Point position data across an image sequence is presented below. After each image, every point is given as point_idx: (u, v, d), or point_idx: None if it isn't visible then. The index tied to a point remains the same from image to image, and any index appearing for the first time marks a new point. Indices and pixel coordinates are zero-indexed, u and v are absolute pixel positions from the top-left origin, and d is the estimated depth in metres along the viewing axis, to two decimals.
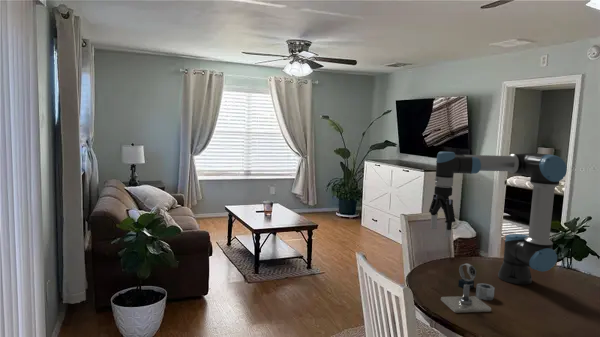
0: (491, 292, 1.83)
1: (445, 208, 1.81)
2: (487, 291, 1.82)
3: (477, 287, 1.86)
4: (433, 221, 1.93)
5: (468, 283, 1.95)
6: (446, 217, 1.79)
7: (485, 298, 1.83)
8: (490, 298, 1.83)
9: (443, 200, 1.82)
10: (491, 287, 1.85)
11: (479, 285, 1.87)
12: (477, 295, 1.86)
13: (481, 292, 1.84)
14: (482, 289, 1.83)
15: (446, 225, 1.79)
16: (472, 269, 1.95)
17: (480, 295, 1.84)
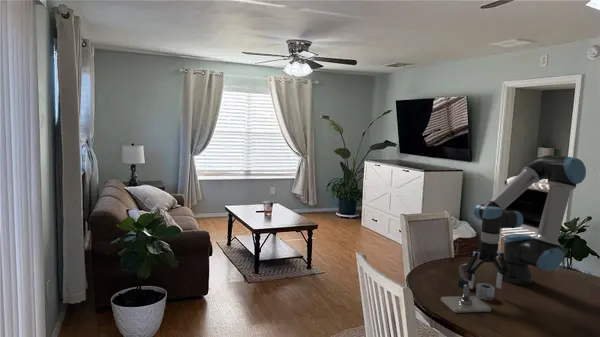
0: (491, 292, 1.83)
1: (477, 261, 1.84)
2: (487, 291, 1.82)
3: (477, 287, 1.86)
4: (497, 278, 1.87)
5: None
6: None
7: (485, 298, 1.83)
8: (490, 298, 1.83)
9: None
10: (491, 287, 1.85)
11: (479, 285, 1.87)
12: (477, 295, 1.86)
13: (481, 292, 1.84)
14: (482, 289, 1.83)
15: None
16: None
17: (480, 295, 1.84)
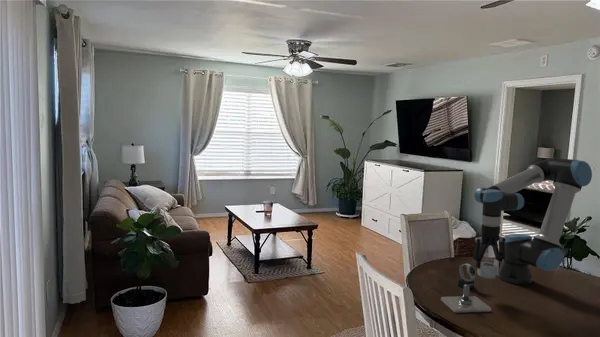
0: (494, 270, 1.82)
1: (481, 246, 1.84)
2: (490, 269, 1.81)
3: None
4: None
5: (468, 283, 1.95)
6: None
7: (488, 276, 1.82)
8: (493, 276, 1.82)
9: None
10: (494, 265, 1.84)
11: None
12: None
13: (484, 271, 1.83)
14: (485, 267, 1.82)
15: None
16: (472, 269, 1.95)
17: (483, 273, 1.83)
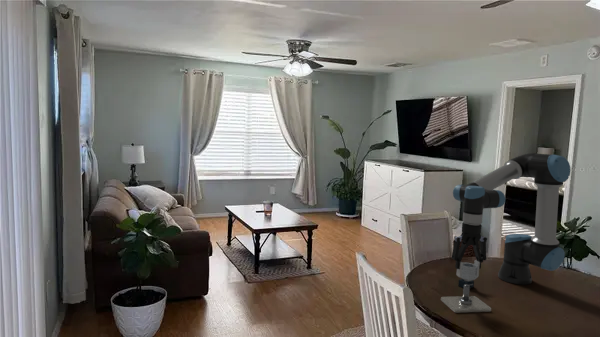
0: (474, 271, 1.71)
1: (461, 246, 1.74)
2: (469, 270, 1.71)
3: None
4: None
5: (468, 283, 1.95)
6: None
7: (467, 277, 1.71)
8: (473, 277, 1.71)
9: None
10: (474, 266, 1.73)
11: (462, 264, 1.75)
12: None
13: (463, 271, 1.72)
14: (464, 268, 1.72)
15: None
16: None
17: (462, 274, 1.73)
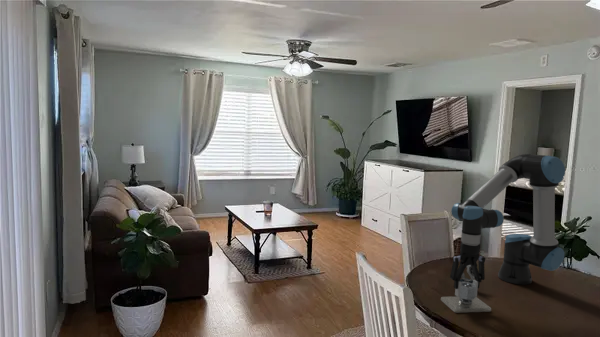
0: (472, 291, 1.72)
1: (460, 265, 1.75)
2: (468, 290, 1.72)
3: None
4: None
5: None
6: None
7: (466, 297, 1.72)
8: (471, 297, 1.72)
9: None
10: (472, 286, 1.74)
11: None
12: None
13: (462, 291, 1.73)
14: (463, 288, 1.73)
15: None
16: None
17: (461, 294, 1.74)
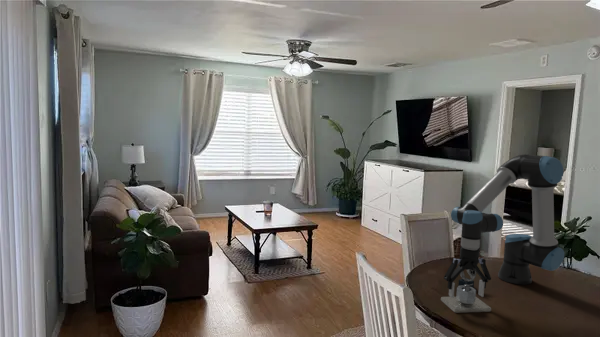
0: (472, 295, 1.72)
1: (457, 268, 1.75)
2: (468, 294, 1.72)
3: (458, 289, 1.76)
4: (479, 286, 1.77)
5: (468, 283, 1.95)
6: None
7: (466, 301, 1.73)
8: (471, 301, 1.73)
9: None
10: (472, 289, 1.74)
11: (460, 287, 1.76)
12: (457, 298, 1.76)
13: (461, 295, 1.73)
14: (463, 292, 1.73)
15: None
16: None
17: (460, 298, 1.74)
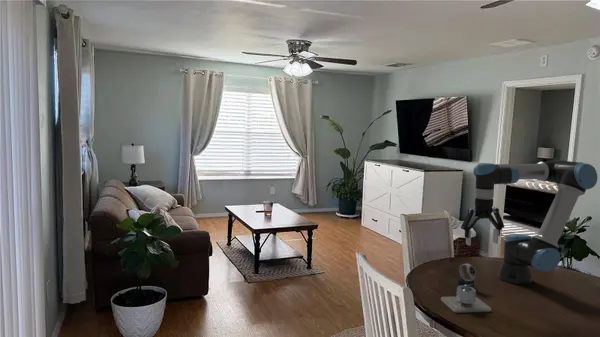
0: (472, 295, 1.72)
1: (473, 217, 1.86)
2: (468, 294, 1.72)
3: (458, 289, 1.76)
4: (494, 234, 1.89)
5: (468, 283, 1.95)
6: None
7: (466, 301, 1.73)
8: (471, 301, 1.73)
9: None
10: (472, 289, 1.74)
11: (460, 287, 1.76)
12: (457, 298, 1.76)
13: (461, 295, 1.73)
14: (463, 292, 1.73)
15: None
16: (472, 269, 1.95)
17: (460, 298, 1.74)
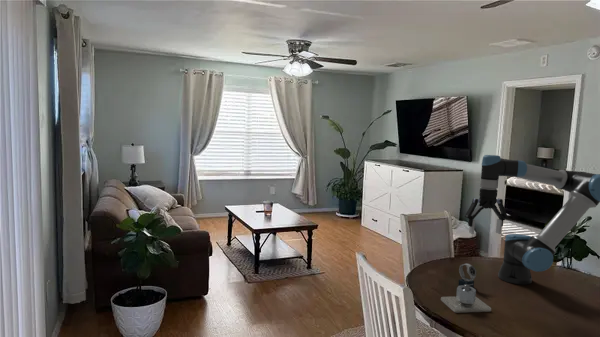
0: (472, 295, 1.72)
1: (477, 207, 1.92)
2: (468, 294, 1.72)
3: (458, 289, 1.76)
4: (497, 224, 1.95)
5: (468, 283, 1.95)
6: None
7: (466, 301, 1.73)
8: (471, 301, 1.73)
9: None
10: (472, 289, 1.74)
11: (460, 287, 1.76)
12: (457, 298, 1.76)
13: (461, 295, 1.73)
14: (463, 292, 1.73)
15: None
16: (472, 269, 1.95)
17: (460, 298, 1.74)
